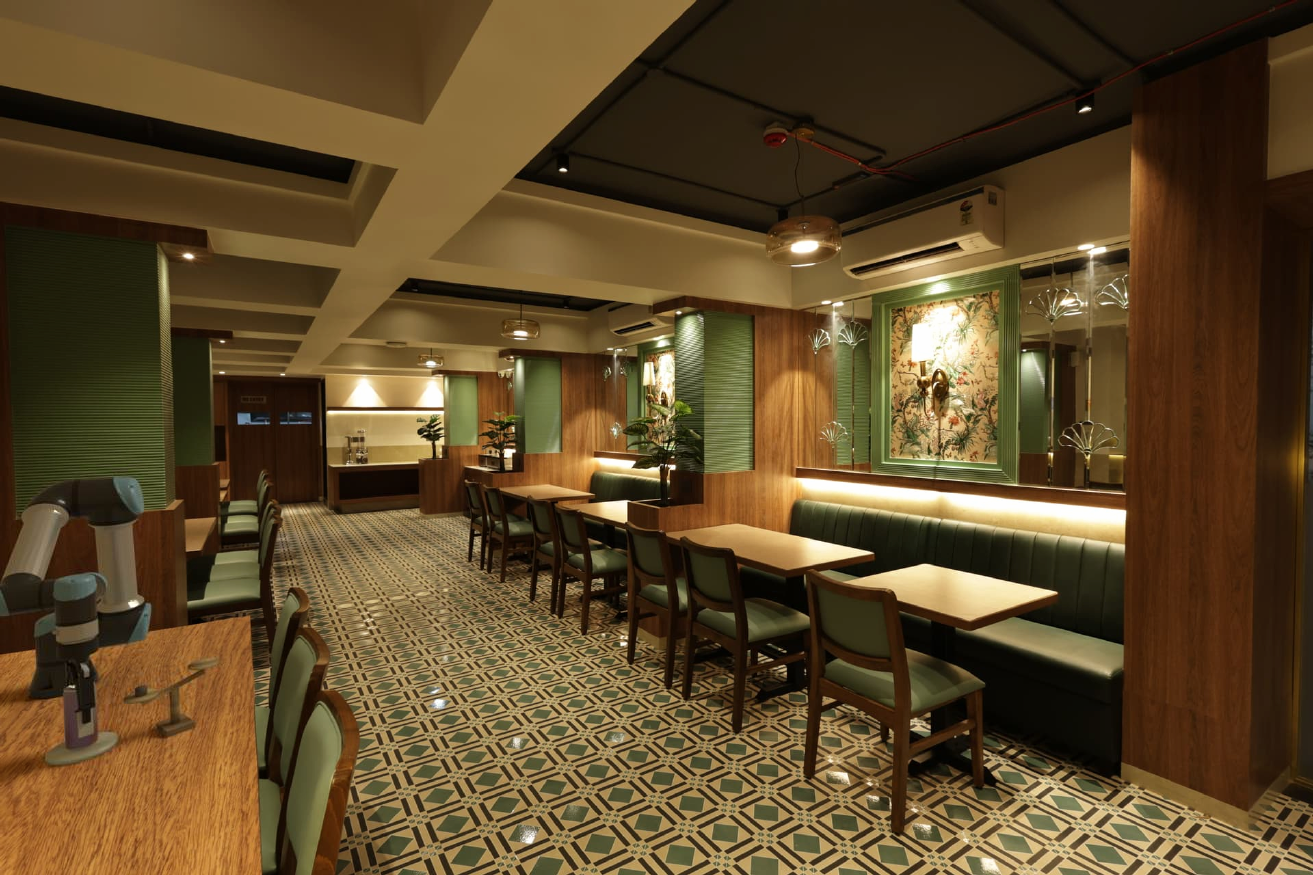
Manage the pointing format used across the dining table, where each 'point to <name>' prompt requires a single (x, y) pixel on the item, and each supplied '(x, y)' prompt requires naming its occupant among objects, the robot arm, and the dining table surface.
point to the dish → (81, 751)
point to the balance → (171, 699)
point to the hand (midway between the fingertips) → (81, 730)
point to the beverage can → (71, 721)
